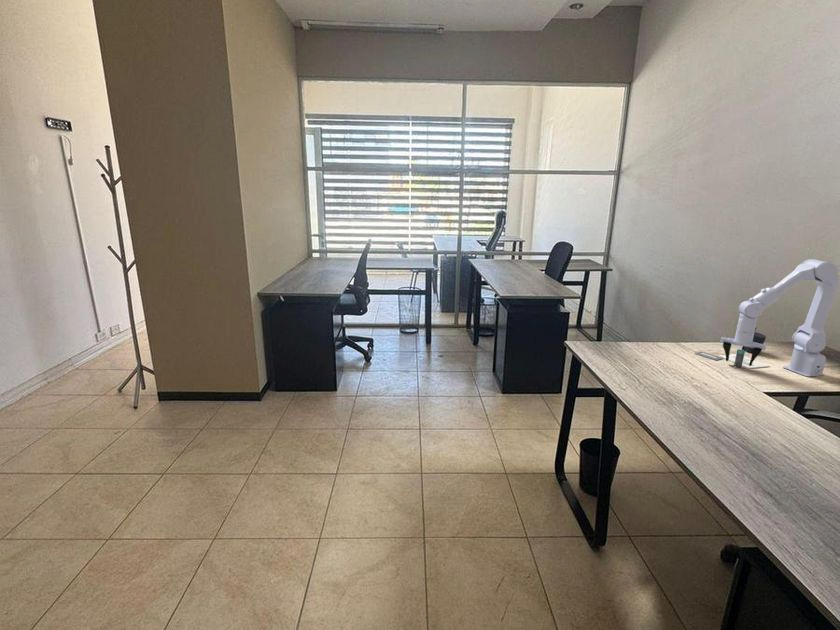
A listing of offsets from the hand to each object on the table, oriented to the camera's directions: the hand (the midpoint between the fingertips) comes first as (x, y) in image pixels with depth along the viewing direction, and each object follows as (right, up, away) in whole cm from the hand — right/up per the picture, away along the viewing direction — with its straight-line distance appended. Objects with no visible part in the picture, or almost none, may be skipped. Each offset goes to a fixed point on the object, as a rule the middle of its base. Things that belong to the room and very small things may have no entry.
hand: (738, 362), depth 170 cm
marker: (0, -2, 0) cm, 2 cm away
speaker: (+19, +3, +17) cm, 26 cm away
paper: (+6, 0, +5) cm, 8 cm away
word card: (-4, +2, +11) cm, 12 cm away
